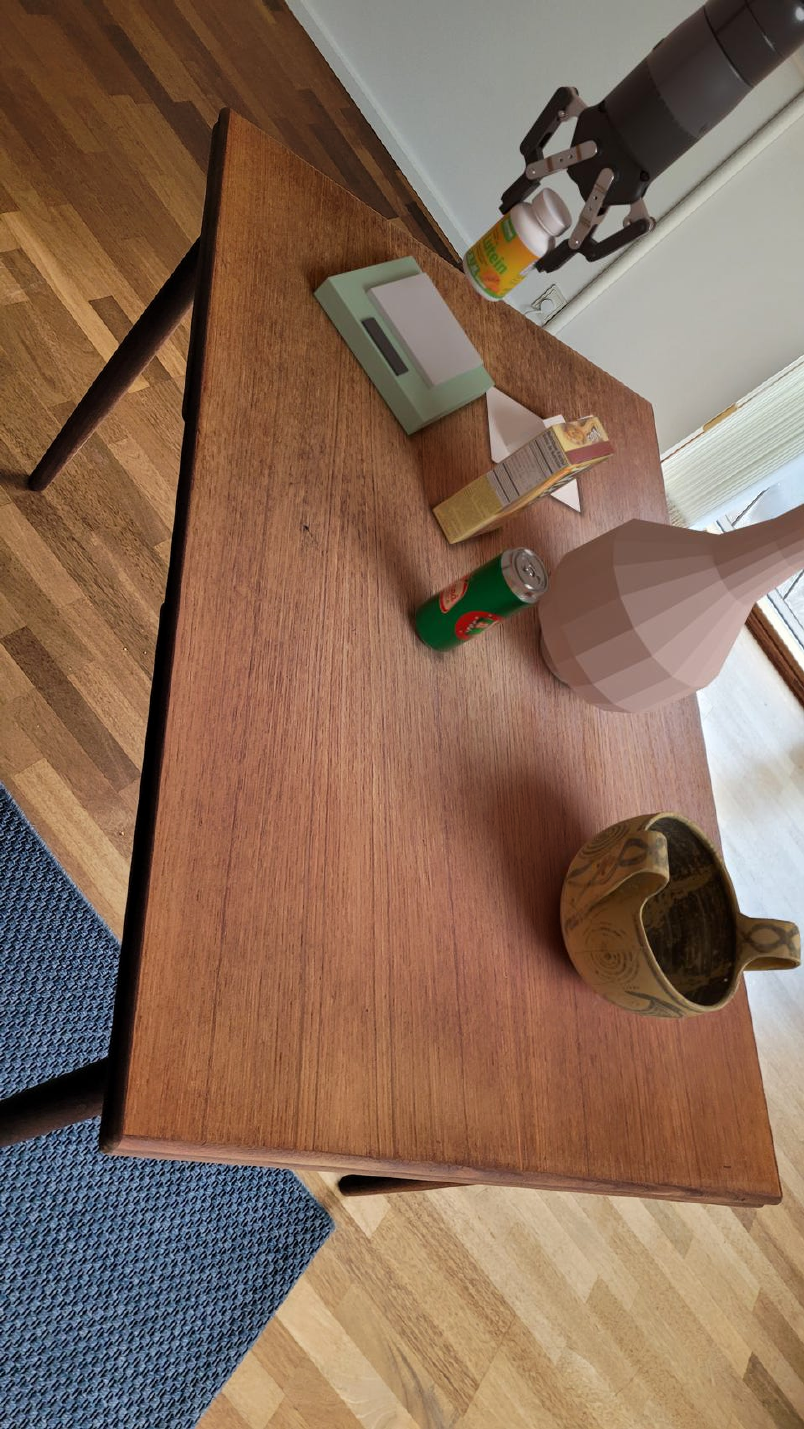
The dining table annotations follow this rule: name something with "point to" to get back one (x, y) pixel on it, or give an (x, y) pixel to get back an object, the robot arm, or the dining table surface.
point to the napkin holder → (521, 434)
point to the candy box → (524, 478)
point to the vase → (659, 607)
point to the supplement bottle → (516, 244)
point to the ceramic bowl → (664, 920)
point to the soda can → (481, 599)
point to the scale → (405, 340)
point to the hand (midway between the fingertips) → (522, 239)
